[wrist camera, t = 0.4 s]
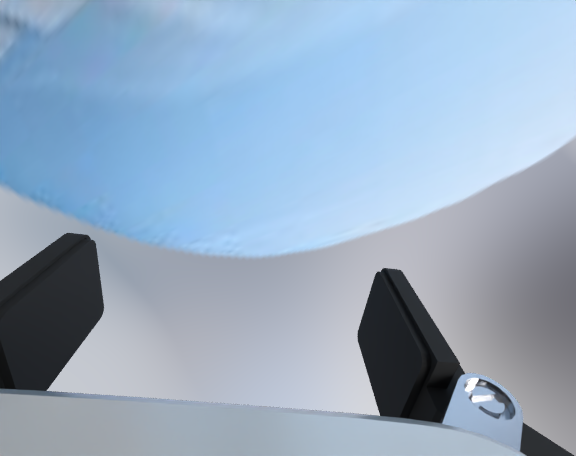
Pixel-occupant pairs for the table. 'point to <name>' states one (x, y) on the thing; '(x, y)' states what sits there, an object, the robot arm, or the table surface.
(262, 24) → the table surface
